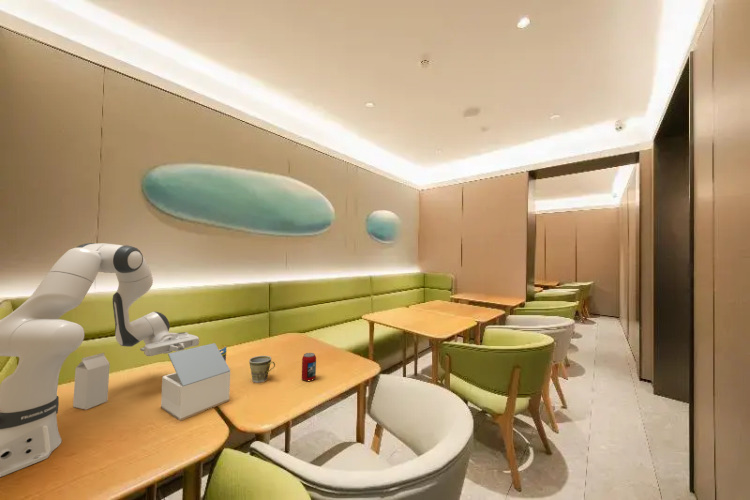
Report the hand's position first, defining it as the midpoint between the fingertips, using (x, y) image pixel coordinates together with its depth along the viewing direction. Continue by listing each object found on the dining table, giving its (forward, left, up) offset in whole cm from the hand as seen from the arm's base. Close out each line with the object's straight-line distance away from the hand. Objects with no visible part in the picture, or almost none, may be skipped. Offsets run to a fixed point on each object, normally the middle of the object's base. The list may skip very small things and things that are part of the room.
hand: (180, 348), depth 123 cm
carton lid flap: (-4, -16, -3) cm, 17 cm away
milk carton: (-18, +23, -19) cm, 35 cm away
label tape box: (+23, +3, -19) cm, 30 cm away
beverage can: (+33, -44, -19) cm, 58 cm away
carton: (-4, -15, -19) cm, 24 cm away
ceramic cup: (+24, -24, -19) cm, 39 cm away
